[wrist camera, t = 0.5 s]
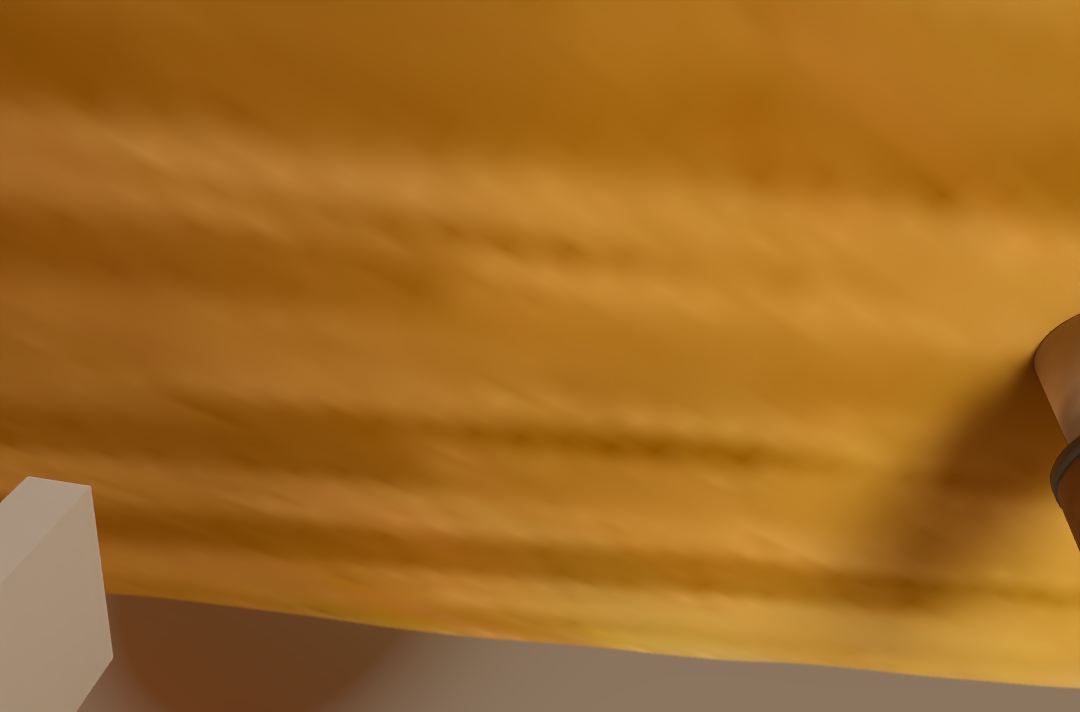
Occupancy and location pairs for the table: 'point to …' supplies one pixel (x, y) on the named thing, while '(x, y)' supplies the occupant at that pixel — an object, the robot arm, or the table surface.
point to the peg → (1064, 412)
